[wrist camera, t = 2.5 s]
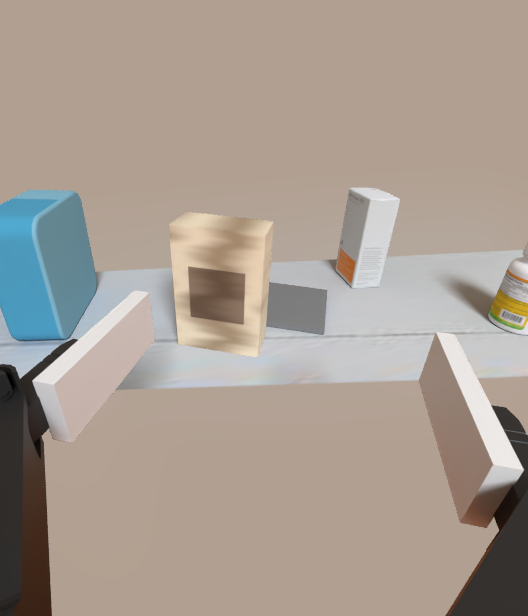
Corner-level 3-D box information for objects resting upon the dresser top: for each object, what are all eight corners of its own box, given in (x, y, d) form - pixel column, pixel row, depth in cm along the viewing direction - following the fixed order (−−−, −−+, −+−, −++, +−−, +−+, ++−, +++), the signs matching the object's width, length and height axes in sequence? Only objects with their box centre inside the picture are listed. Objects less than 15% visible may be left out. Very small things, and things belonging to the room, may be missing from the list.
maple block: (177, 344, 35) (168, 224, 29) (192, 323, 38) (187, 211, 32) (257, 357, 34) (265, 236, 28) (265, 334, 37) (273, 221, 31)
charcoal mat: (180, 313, 40) (179, 308, 40) (207, 278, 48) (207, 273, 48) (323, 334, 38) (324, 329, 37) (326, 294, 46) (327, 290, 46)
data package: (59, 288, 43) (33, 186, 37) (99, 288, 44) (79, 187, 38) (13, 347, 33) (-33, 220, 27) (65, 346, 34) (31, 221, 28)
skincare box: (333, 270, 53) (348, 187, 47) (360, 269, 53) (377, 187, 47) (351, 289, 47) (370, 198, 41) (380, 288, 48) (402, 198, 42)
